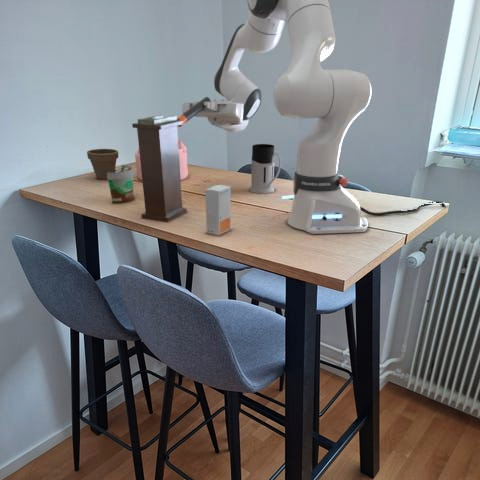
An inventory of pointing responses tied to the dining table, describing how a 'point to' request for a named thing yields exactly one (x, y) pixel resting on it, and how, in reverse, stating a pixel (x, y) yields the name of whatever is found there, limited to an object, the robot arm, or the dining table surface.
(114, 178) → the food container
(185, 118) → the marker
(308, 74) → the robot arm
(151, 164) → the stand
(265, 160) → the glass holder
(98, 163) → the flower pot
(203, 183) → the dining table surface
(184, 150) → the cake
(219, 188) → the cosmetic box
